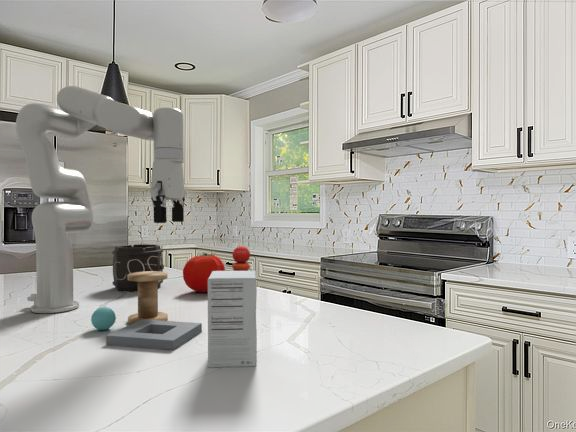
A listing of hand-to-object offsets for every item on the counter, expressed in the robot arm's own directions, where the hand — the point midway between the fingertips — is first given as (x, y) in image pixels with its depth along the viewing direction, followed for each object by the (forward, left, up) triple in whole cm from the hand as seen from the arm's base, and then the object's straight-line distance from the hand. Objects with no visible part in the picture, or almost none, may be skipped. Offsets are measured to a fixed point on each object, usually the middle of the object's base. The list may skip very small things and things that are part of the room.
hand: (169, 222), depth 113 cm
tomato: (-8, +39, -26) cm, 48 cm away
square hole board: (+4, -14, -26) cm, 30 cm away
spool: (-6, -1, -26) cm, 27 cm away
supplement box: (+26, -23, -26) cm, 44 cm away
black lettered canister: (-35, +41, -26) cm, 60 cm away
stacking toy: (+14, +15, -26) cm, 33 cm away
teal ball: (-12, -11, -26) cm, 31 cm away
